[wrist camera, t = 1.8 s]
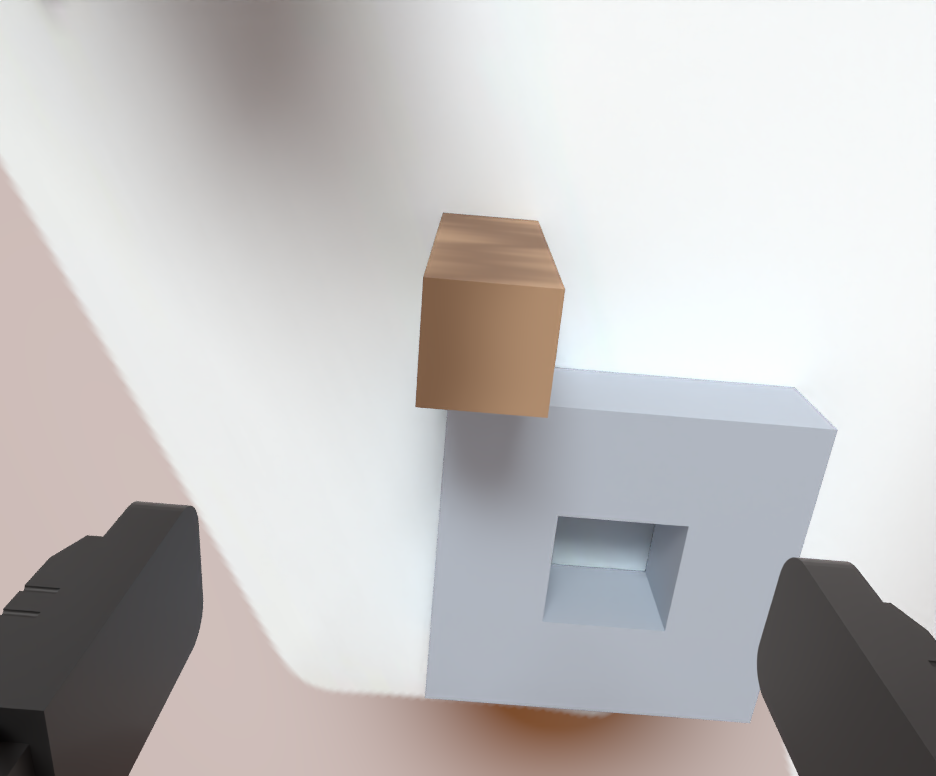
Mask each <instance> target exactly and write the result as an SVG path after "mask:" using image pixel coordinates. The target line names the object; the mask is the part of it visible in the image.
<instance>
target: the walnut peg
mask: <svg viewBox="0 0 936 776" xmlns="http://www.w3.org/2000/svg"><path fill="white" fill-rule="evenodd" d="M564 293H565V288H564V285H563V283H562V280H561V278H560V275H559V273H558V270H557V268H556V265H555V263H554V260H553V257H552V255H551V252H550V250H549V247H548V245H547V242H546V240H545V237H544V235H543V232H542V229H541V227H540V224H539V222H538V221H533V220H521V219H509V218H498V217H486V216H474V215H463V214H451V213H443V214H442V218H441V221H440V224H439V227H438V231H437V234H436V237H435V241H434V244H433V247H432V250H431V254H430V257H429V260H428V263H427V267H426V270H425V273H424V277H423V291H422V307H421V324H420V341H419V357H418V374H417V390H416V407H420V408H433V409H445V410H457V411H469V412H481V413H493V414H505V415H517V416H530V417H542V418H548V412H549V404H550V397H551V390H552V382H553V375H554V367H555V360H556V353H557V345H558V338H559V330H560V323H561V315H562V308H563V301H564Z"/></svg>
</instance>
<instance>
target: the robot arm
mask: <svg viewBox="0 0 936 776" xmlns="http://www.w3.org/2000/svg"><path fill="white" fill-rule="evenodd" d="M200 557H201V556H200V540H199V523H198V516H197V512H196V510H195V508H194V507H193V506H187V505H175V504H163V503H151V502H139V501H137V502H133V503H132V504H131V505H130V506H129V507H128V508H127V509H126V510H125V511H124V513H123V514H122V515H121V516H120V517H119V518H118V520H117V521H116V522H115V523H114V525H113V526H112V527H111V528H110V529H109V531H108V532H107V533H106V534H105V535H104V537H101V536H88V535H87V536H85V537H84V538H82V539H80V540H79V541H77V542H75V543H74V544H72V545H71V546H69V547H67V548H65V549H64V550H62V551H60V552H59V553H57V554H55V555H54V556H52V557H50V558H49V559H48V560H47V561H46V563H45V564H44V565H43V566H42V567H41V568H40V569H39V571H37V573H35V575H34V576H33V577H32V578H31V579H30V580H29V581H28V582H27V583H26V585H25V589H24V591H19V592H18V593H17V594H16V596H15V597H14V598H13V599H12V600H11V601H10V602H9V603H8V604H7V605H6V607H5V608H4V609H3V610H4V611H3V614H2V615H0V776H128V775H129V773H130V771H131V769H132V767H133V765H134V763H135V761H136V759H137V758H138V755H139V753H140V752H141V750H142V748H143V746H144V744H145V742H146V740H147V738H148V736H149V734H150V732H151V730H152V728H153V726H154V724H155V722H156V720H157V718H158V716H159V714H160V712H161V710H162V708H163V706H164V705H165V703H166V701H167V699H168V697H169V695H170V692H171V691H172V689H173V687H174V685H175V683H176V681H177V679H178V677H179V675H180V673H181V671H182V669H183V667H184V665H185V663H186V661H187V659H188V657H189V655H190V653H191V651H192V649H193V647H194V645H195V642H196V639H197V636H198V633H199V629H200V624H201V619H202V610H203V590H202V574H201V558H200ZM757 675H758V682H759V687H760V690H761V693H762V696H763V698H764V700H765V703H766V705H767V707H768V709H769V711H770V713H771V716H772V718H773V720H774V722H775V724H776V727H777V729H778V731H779V733H780V735H781V738H782V740H783V742H784V744H785V746H786V748H787V751H788V753H789V755H790V757H791V759H792V762H793V764H794V766H795V768H796V770H797V772H798V775H799V776H936V640H935V639H934V638H933V636H932V635H931V634H930V633H929V631H927V630H926V629H925V628H923V627H922V626H921V625H919V624H918V623H917V622H915V621H914V620H913V619H911V618H910V617H909V616H907V615H906V614H905V613H904V612H902V611H901V610H900V609H898V608H897V607H896V606H894V605H893V604H892V603H884V602H882V600H881V599H880V598H879V596H878V595H877V594H876V592H875V591H874V590H873V589H872V587H871V586H870V585H869V583H868V582H867V581H866V580H865V578H864V577H863V576H862V574H861V573H860V572H859V570H858V569H857V568H856V567H855V566H854V565H853V564H851V563H849V562H844V561H832V560H820V559H808V558H796V557H792V558H790V559H788V560H787V561H786V562H785V563H784V565H783V567H782V569H781V572H780V575H779V579H778V582H777V585H776V589H775V592H774V596H773V599H772V602H771V606H770V609H769V613H768V616H767V619H766V623H765V626H764V629H763V633H762V636H761V640H760V643H759V647H758V653H757Z"/></svg>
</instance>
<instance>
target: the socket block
mask: <svg viewBox="0 0 936 776" xmlns="http://www.w3.org/2000/svg"><path fill="white" fill-rule="evenodd" d="M836 433H837V429H836V428H835V427H834V426H833V425H832V424H831V423H830V422H829V421H828V420H827V419H826V418H825V417H824V416H823V415H822V414H821V413H820V412H819V411H818V410H817V409H816V408H815V407H814V406H813V405H812V404H811V403H810V402H809V401H808V400H807V399H806V398H805V397H804V396H803V395H802V394H801V393H800V392H799V391H798V390H797V389H796V388H794V387H782V386H770V385H758V384H746V383H734V382H722V381H710V380H698V379H686V378H674V377H662V376H650V375H638V374H626V373H614V372H602V371H590V370H578V369H566V368H554V375H553V382H552V390H551V397H550V404H549V412H548V418H542V417H530V416H517V415H505V414H493V413H481V412H469V411H457V410H448V411H447V424H446V437H445V449H444V462H443V475H442V488H441V500H440V513H439V526H438V539H437V552H436V564H435V577H434V590H433V603H432V615H431V628H430V641H429V654H428V667H427V679H426V692H425V698H431V699H444V700H457V701H470V702H483V703H496V704H509V705H522V706H535V707H548V708H561V709H573V710H586V711H599V712H612V713H626V714H639V715H652V716H664V717H677V718H690V719H703V720H717V721H730V722H742V723H750V721H751V717H752V714H753V711H754V708H755V704H756V701H757V698H758V694H759V691H760V687H759V682H758V675H757V653H758V647H759V643H760V640H761V636H762V633H763V629H764V626H765V623H766V619H767V616H768V613H769V609H770V606H771V602H772V599H773V596H774V592H775V589H776V585H777V582H778V579H779V575H780V572H781V569H782V567H783V565H784V563H785V562H786V561H787V560H788V559H790V558H792V557H796V558H799V557H800V554H801V550H802V547H803V544H804V540H805V537H806V534H807V530H808V527H809V524H810V520H811V517H812V514H813V510H814V507H815V504H816V500H817V497H818V494H819V490H820V487H821V484H822V480H823V477H824V474H825V470H826V467H827V464H828V460H829V457H830V453H831V450H832V447H833V443H834V440H835V437H836ZM558 516H564V517H576V518H589V519H601V520H613V521H626V522H638V523H651V524H655V527H654V531H653V536H652V541H651V546H650V551H649V556H648V560H647V565H646V570H645V572H644V571H631V570H619V569H606V568H593V567H581V566H568V565H556V564H551V561H552V554H553V547H554V541H555V534H556V527H557V520H558Z"/></svg>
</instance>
